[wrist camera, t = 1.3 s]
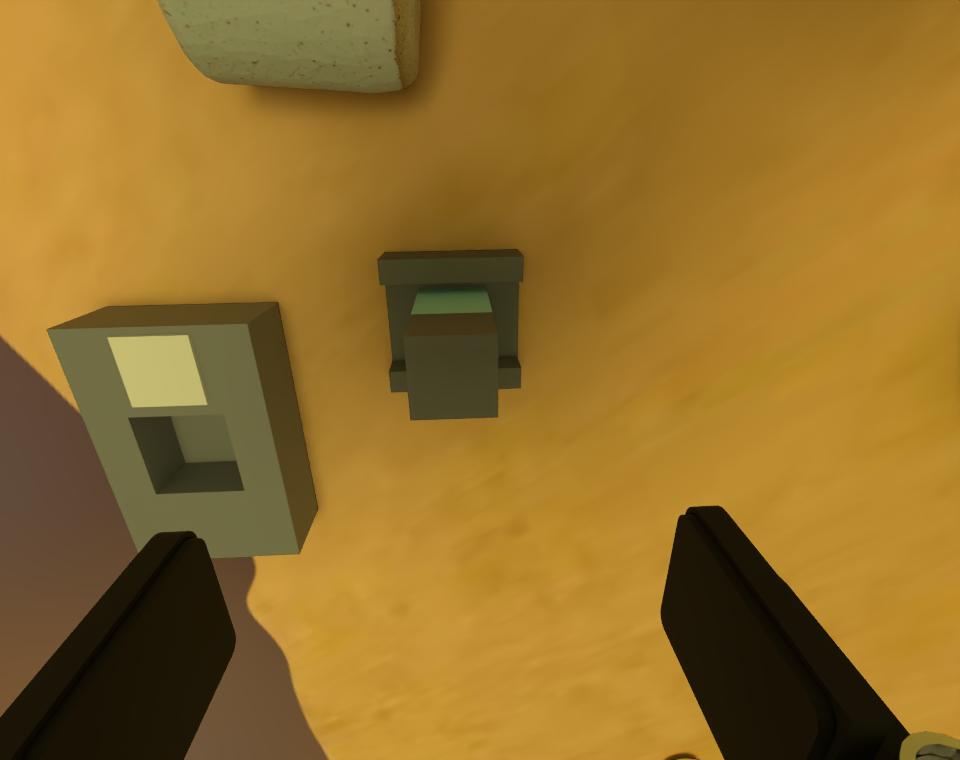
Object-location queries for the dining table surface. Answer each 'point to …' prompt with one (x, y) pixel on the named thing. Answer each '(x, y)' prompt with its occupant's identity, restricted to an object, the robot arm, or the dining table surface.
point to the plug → (452, 355)
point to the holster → (454, 270)
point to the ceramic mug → (301, 42)
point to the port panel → (195, 422)
